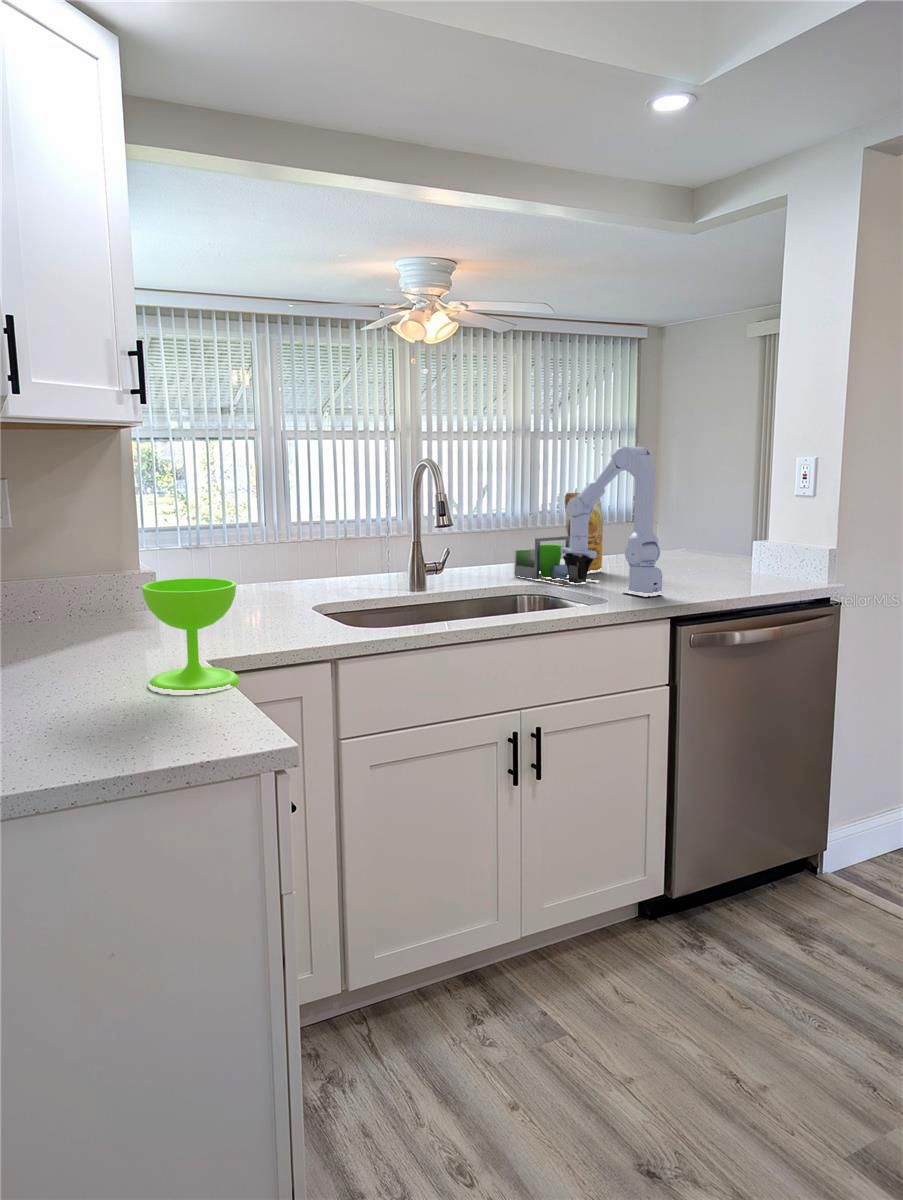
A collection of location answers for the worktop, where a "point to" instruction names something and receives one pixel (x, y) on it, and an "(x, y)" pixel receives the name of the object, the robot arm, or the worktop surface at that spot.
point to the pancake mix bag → (590, 530)
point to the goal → (533, 558)
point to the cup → (549, 558)
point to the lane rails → (560, 581)
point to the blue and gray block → (561, 573)
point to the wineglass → (191, 625)
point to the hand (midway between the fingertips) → (577, 578)
